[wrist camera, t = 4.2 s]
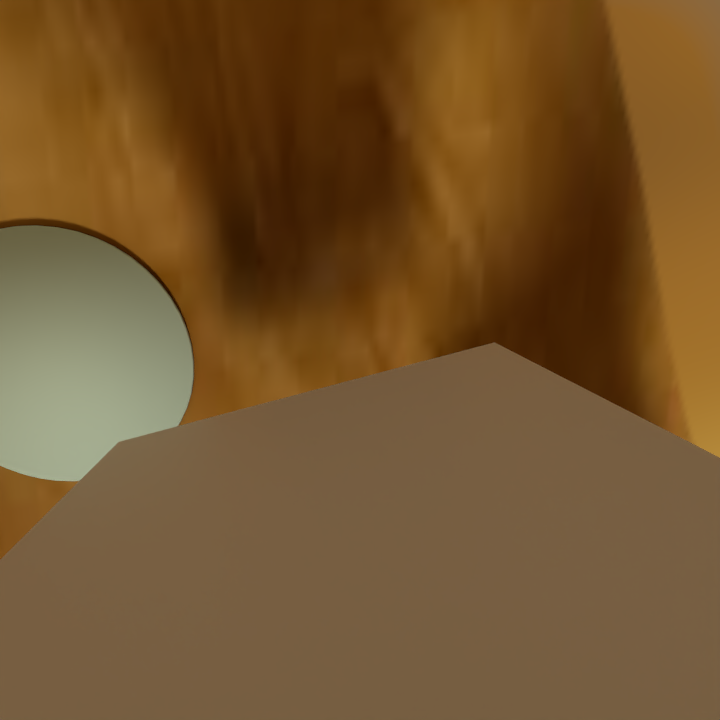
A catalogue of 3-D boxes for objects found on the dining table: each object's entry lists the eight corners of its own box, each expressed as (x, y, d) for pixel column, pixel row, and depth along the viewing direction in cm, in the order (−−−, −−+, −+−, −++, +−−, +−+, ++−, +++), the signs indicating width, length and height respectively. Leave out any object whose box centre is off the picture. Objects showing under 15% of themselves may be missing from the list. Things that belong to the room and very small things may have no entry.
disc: (218, 270, 16) (216, 271, 16) (168, 499, 19) (167, 502, 18) (-77, 188, 15) (-82, 187, 15) (-96, 449, 17) (-100, 452, 17)
